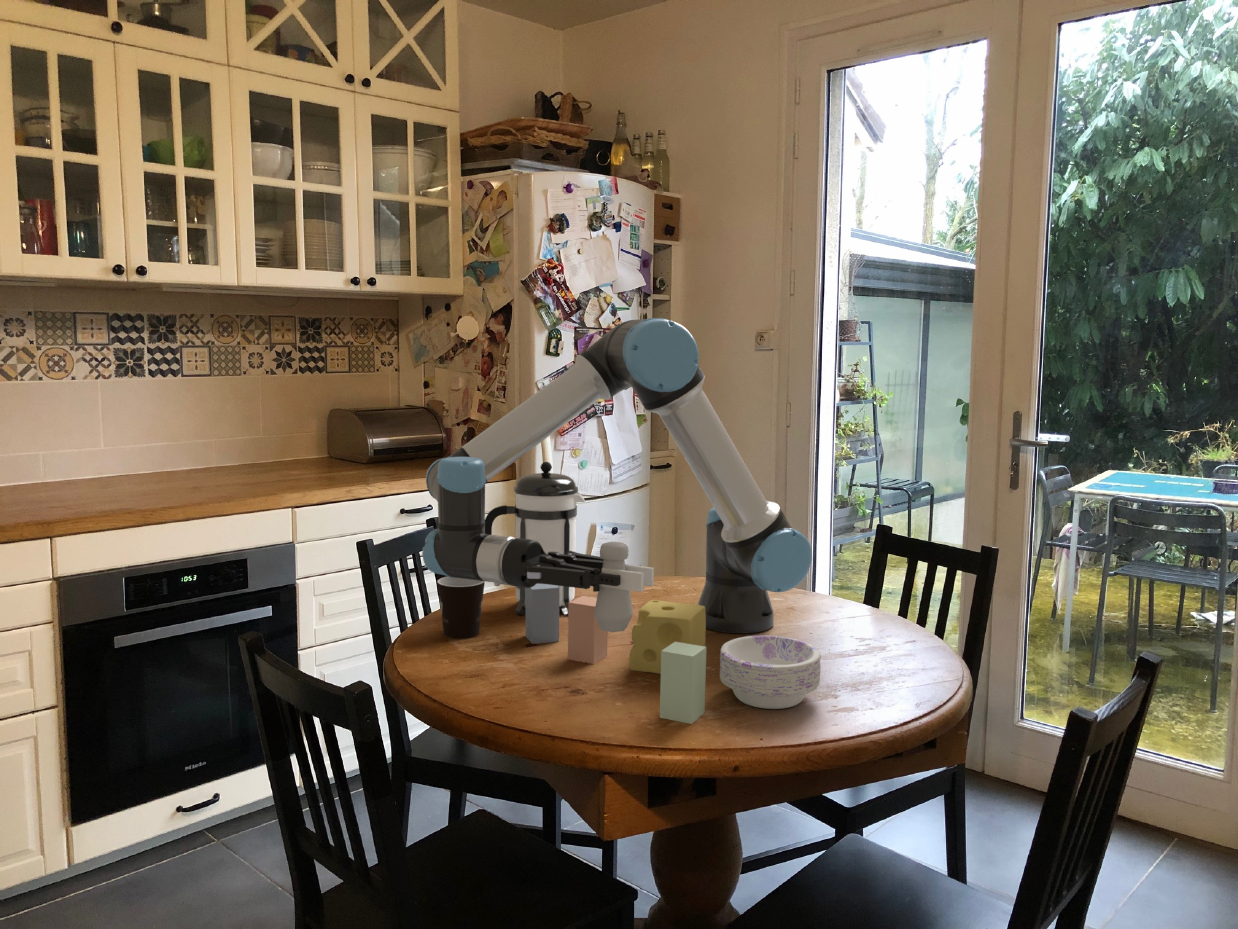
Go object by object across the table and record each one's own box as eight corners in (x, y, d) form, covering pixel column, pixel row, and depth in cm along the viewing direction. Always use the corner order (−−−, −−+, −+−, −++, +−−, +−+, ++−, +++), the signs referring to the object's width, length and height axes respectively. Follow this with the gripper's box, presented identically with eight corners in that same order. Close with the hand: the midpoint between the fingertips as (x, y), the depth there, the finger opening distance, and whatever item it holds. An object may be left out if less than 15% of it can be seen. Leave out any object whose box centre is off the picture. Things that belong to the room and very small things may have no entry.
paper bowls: (707, 709, 145) (709, 657, 144) (732, 676, 159) (733, 629, 158) (810, 724, 140) (812, 671, 139) (826, 689, 154) (828, 641, 153)
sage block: (673, 706, 146) (675, 641, 144) (704, 712, 144) (706, 646, 142) (659, 717, 141) (661, 651, 140) (691, 724, 139) (693, 656, 138)
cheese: (628, 671, 161) (629, 612, 160) (650, 652, 171) (651, 596, 170) (688, 680, 157) (690, 620, 156) (707, 660, 167) (709, 603, 166)
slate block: (551, 633, 181) (552, 581, 179) (559, 641, 176) (559, 587, 175) (525, 635, 179) (525, 582, 178) (532, 644, 174) (532, 589, 173)
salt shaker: (636, 624, 148) (638, 540, 146) (627, 635, 143) (628, 548, 141) (600, 621, 150) (601, 538, 148) (589, 631, 144) (590, 545, 142)
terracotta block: (581, 651, 171) (582, 595, 170) (607, 655, 169) (608, 599, 167) (567, 659, 166) (568, 602, 165) (593, 664, 164) (594, 606, 163)
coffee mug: (475, 642, 175) (475, 588, 173) (430, 638, 176) (429, 584, 175) (496, 624, 186) (496, 573, 185) (453, 621, 188) (453, 570, 186)
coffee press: (547, 593, 209) (548, 455, 205) (596, 609, 197) (598, 462, 194) (480, 607, 197) (480, 460, 194) (528, 625, 186) (529, 469, 182)
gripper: (538, 574, 161) (669, 592, 150) (483, 596, 146) (623, 618, 136) (539, 529, 160) (670, 544, 149) (483, 547, 146) (623, 565, 135)
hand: (647, 579), depth 143 cm, fingers closed on salt shaker, 3 cm apart
